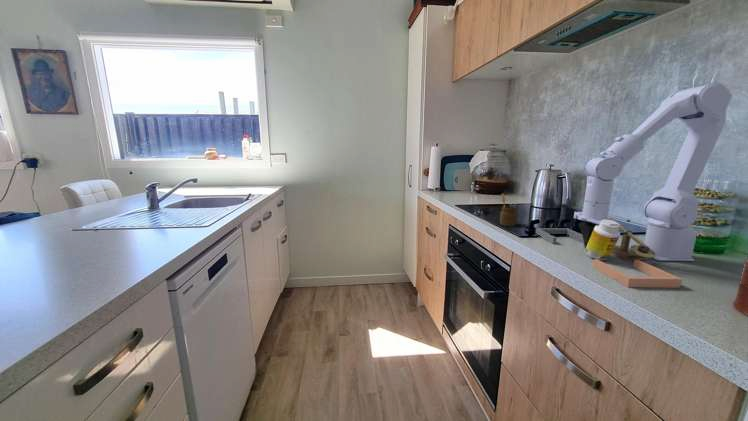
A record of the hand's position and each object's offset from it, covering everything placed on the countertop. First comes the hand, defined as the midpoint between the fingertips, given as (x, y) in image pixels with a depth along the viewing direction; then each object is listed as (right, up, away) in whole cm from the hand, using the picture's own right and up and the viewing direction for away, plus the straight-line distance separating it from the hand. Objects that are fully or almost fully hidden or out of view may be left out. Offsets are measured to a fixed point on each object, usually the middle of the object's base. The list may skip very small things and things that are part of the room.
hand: (589, 248), depth 83 cm
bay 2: (-1, -4, -14) cm, 15 cm away
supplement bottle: (0, -1, -3) cm, 3 cm away
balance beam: (+9, +3, -1) cm, 10 cm away
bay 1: (+1, +1, +13) cm, 13 cm away
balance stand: (+9, -2, -1) cm, 9 cm away
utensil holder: (-9, +5, +32) cm, 34 cm away
